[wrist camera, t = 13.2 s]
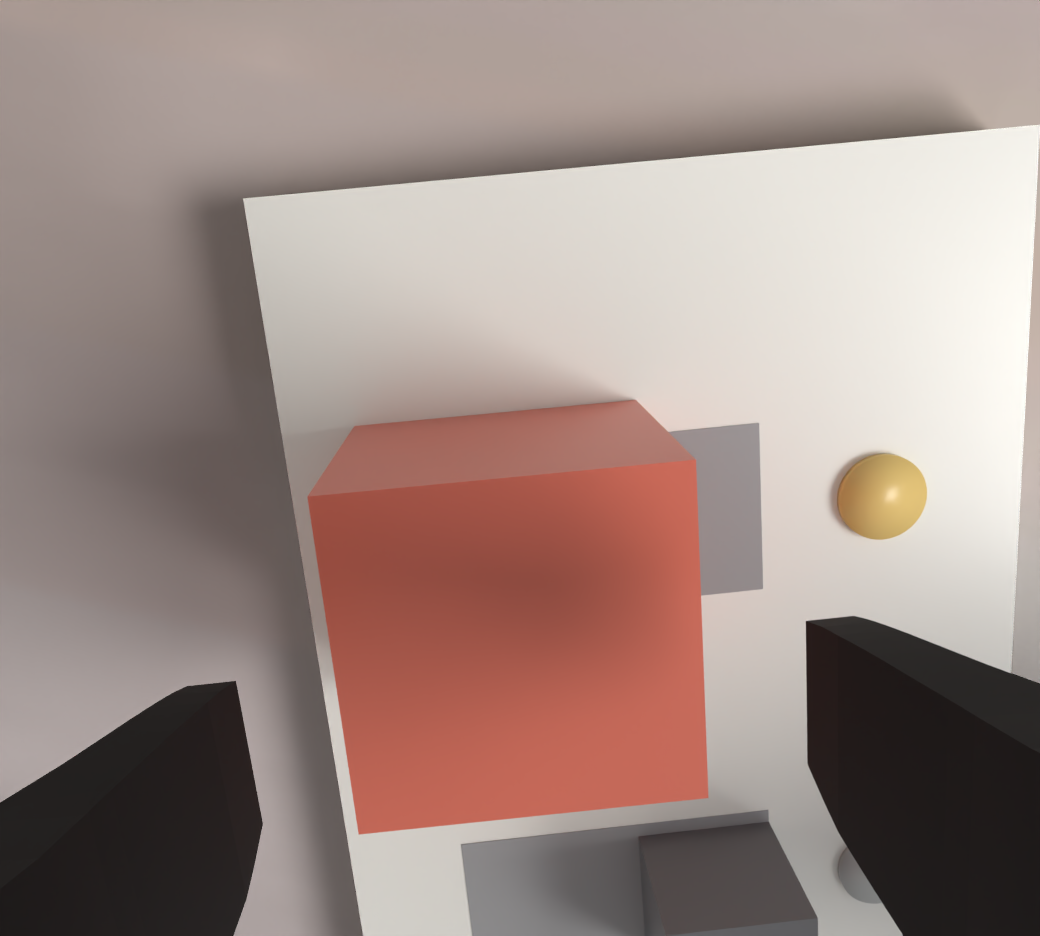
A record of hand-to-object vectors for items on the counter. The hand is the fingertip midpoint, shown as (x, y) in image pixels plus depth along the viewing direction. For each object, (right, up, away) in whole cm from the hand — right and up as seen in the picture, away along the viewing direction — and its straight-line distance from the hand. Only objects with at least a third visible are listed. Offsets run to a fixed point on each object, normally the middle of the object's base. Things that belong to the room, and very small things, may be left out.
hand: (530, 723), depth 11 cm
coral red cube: (0, +2, +7) cm, 7 cm away
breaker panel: (+3, 0, +9) cm, 10 cm away
